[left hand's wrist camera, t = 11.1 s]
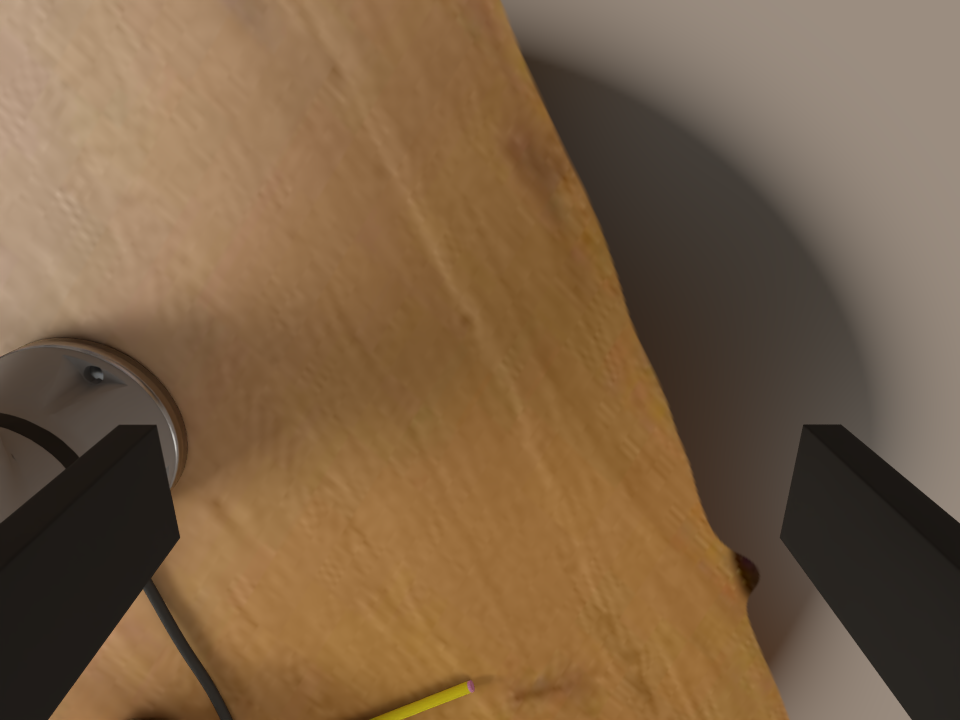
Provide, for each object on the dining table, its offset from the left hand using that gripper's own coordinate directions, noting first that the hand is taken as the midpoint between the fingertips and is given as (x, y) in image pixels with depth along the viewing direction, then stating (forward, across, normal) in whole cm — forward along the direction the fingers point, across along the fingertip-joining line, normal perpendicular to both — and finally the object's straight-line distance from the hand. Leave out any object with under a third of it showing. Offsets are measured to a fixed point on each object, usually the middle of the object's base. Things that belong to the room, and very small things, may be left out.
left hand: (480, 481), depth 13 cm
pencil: (+31, +8, +44) cm, 55 cm away
